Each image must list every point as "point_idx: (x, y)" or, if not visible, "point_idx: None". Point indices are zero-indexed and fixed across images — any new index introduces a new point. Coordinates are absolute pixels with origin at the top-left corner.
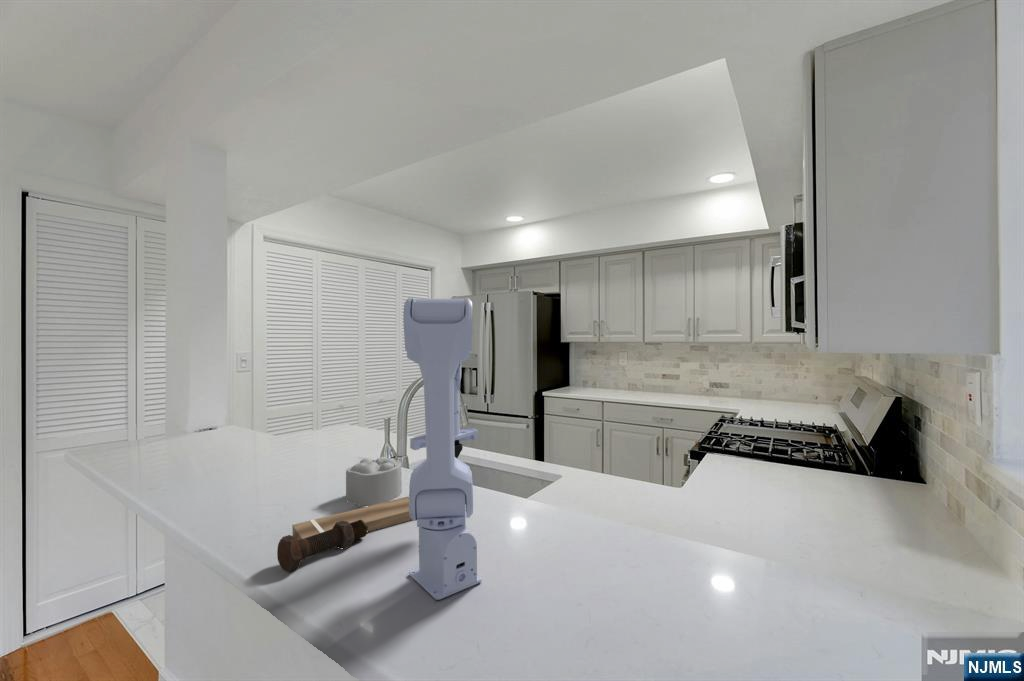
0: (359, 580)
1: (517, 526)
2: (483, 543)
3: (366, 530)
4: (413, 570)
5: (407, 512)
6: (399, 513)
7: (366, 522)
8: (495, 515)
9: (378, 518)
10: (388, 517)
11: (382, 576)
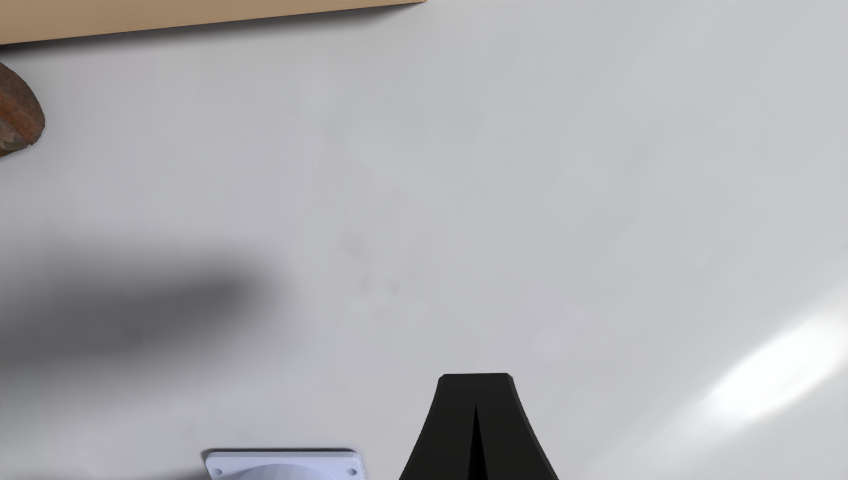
0: (63, 399)
1: (739, 397)
2: None
3: (22, 148)
4: (219, 463)
5: (286, 14)
6: (223, 20)
7: (5, 43)
8: (774, 248)
9: (79, 21)
10: (149, 28)
11: (133, 416)
